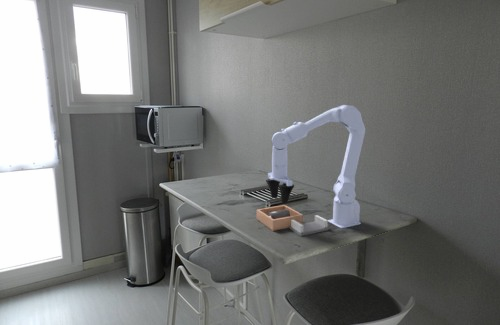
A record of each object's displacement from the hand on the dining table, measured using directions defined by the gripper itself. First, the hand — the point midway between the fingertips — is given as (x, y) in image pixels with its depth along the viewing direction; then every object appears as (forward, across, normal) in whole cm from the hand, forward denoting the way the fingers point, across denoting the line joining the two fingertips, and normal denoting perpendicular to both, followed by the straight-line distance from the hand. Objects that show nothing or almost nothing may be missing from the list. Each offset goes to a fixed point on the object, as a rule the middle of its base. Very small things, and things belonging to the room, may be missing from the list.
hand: (279, 200), depth 125 cm
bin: (+9, 0, 0) cm, 9 cm away
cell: (+6, 0, 0) cm, 6 cm away
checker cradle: (+9, +11, +6) cm, 15 cm away
